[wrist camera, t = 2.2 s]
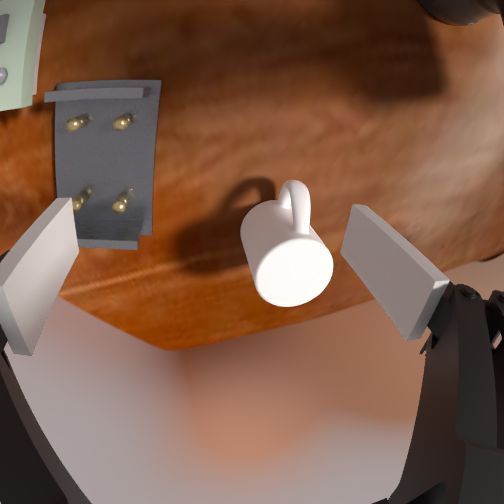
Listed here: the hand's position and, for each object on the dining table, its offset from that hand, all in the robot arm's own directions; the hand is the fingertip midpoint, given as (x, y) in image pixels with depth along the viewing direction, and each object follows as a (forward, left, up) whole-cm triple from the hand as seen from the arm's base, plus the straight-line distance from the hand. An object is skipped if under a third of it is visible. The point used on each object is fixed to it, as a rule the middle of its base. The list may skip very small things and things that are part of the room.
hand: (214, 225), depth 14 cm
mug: (+9, +10, -22) cm, 26 cm away
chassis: (+3, -11, -22) cm, 25 cm away
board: (-10, -22, -17) cm, 30 cm away
